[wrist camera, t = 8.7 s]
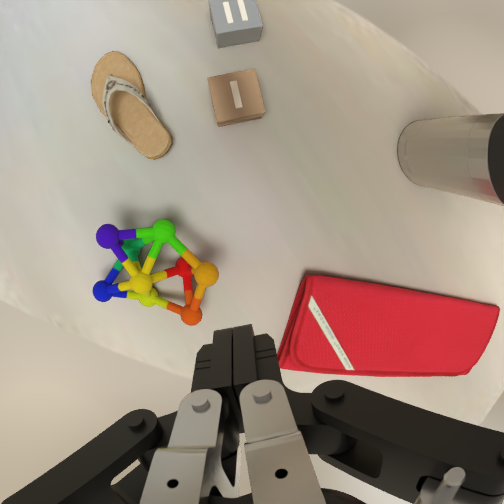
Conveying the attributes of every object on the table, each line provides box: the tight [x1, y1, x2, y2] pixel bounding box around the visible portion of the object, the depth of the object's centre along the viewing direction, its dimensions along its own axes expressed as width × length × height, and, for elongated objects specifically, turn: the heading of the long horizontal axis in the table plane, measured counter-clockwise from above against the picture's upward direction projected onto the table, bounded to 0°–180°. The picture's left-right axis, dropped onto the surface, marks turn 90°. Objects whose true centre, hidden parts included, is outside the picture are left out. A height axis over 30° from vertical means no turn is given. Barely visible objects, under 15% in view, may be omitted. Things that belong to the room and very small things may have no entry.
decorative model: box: [93, 219, 219, 326], centre depth 36 cm, size 13×9×15 cm
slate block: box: [209, 0, 263, 48], centre depth 29 cm, size 5×5×5 cm
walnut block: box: [208, 69, 265, 127], centre depth 32 cm, size 5×5×5 cm
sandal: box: [91, 51, 172, 159], centre depth 31 cm, size 7×16×5 cm, turn 37°
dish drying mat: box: [277, 275, 500, 377], centre depth 44 cm, size 16×41×4 cm, turn 76°
